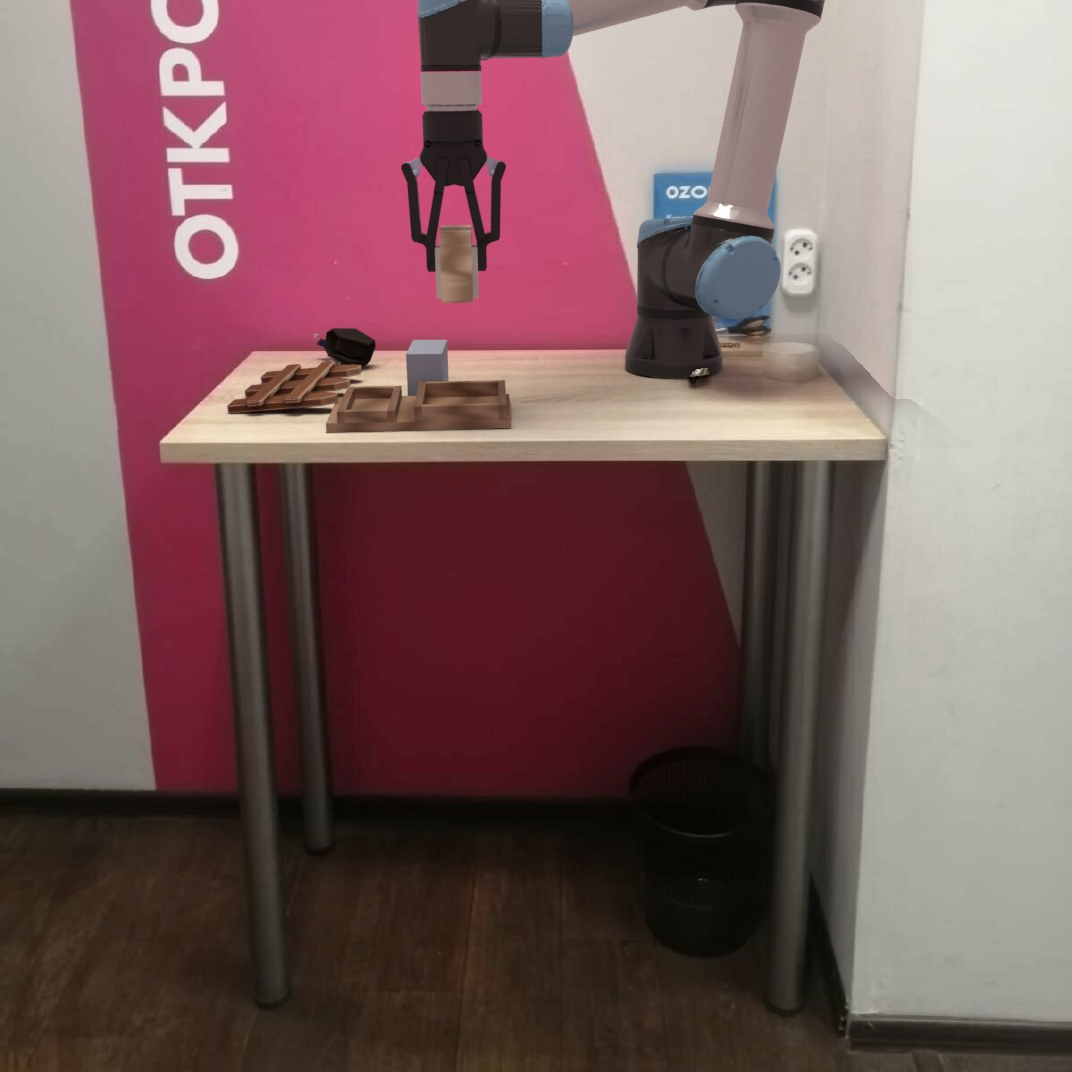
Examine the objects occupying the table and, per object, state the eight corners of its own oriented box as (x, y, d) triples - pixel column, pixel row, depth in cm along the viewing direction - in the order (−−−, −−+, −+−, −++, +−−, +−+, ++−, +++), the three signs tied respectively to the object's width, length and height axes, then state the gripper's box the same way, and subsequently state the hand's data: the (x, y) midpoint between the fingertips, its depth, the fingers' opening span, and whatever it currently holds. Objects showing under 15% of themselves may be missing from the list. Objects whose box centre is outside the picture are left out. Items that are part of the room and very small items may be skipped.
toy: (367, 342, 212) (385, 334, 198) (358, 379, 212) (376, 374, 198) (313, 327, 209) (328, 318, 195) (304, 365, 209) (318, 358, 195)
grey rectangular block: (448, 386, 189) (447, 339, 187) (443, 402, 180) (441, 353, 177) (415, 386, 189) (413, 339, 187) (408, 402, 180) (405, 354, 177)
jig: (509, 402, 179) (508, 380, 178) (510, 428, 166) (510, 404, 165) (338, 405, 178) (336, 383, 177) (326, 432, 165) (324, 408, 164)
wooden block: (473, 293, 170) (471, 225, 167) (472, 302, 163) (471, 231, 160) (443, 294, 170) (441, 225, 167) (441, 303, 163) (439, 231, 160)
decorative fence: (225, 415, 174) (333, 407, 172) (223, 403, 173) (331, 394, 172) (269, 377, 195) (364, 369, 194) (267, 366, 195) (363, 358, 193)
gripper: (519, 107, 162) (522, 291, 170) (385, 108, 162) (394, 293, 170) (521, 108, 155) (523, 300, 163) (381, 110, 155) (390, 302, 163)
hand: (457, 296), depth 167 cm, fingers closed on wooden block, 4 cm apart
